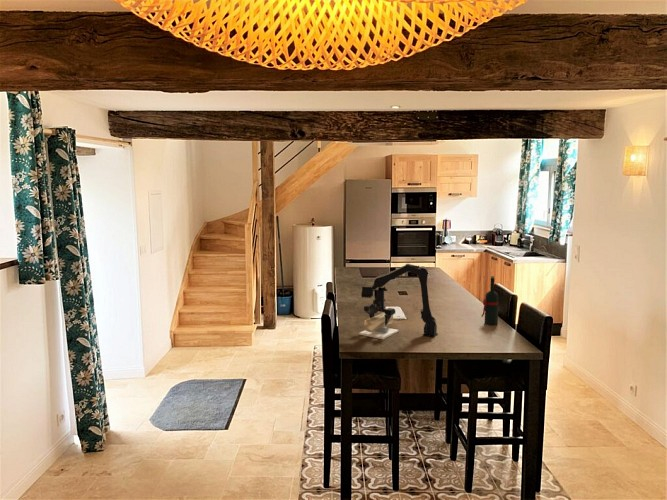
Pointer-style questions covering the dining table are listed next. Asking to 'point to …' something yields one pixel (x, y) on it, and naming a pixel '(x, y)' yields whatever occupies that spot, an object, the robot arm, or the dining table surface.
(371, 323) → the birch bar
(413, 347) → the dining table surface
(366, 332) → the ridge stand
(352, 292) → the dining table surface
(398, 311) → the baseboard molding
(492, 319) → the wine bottle
